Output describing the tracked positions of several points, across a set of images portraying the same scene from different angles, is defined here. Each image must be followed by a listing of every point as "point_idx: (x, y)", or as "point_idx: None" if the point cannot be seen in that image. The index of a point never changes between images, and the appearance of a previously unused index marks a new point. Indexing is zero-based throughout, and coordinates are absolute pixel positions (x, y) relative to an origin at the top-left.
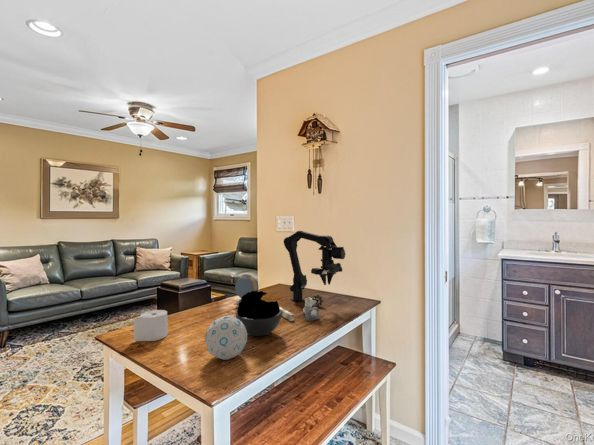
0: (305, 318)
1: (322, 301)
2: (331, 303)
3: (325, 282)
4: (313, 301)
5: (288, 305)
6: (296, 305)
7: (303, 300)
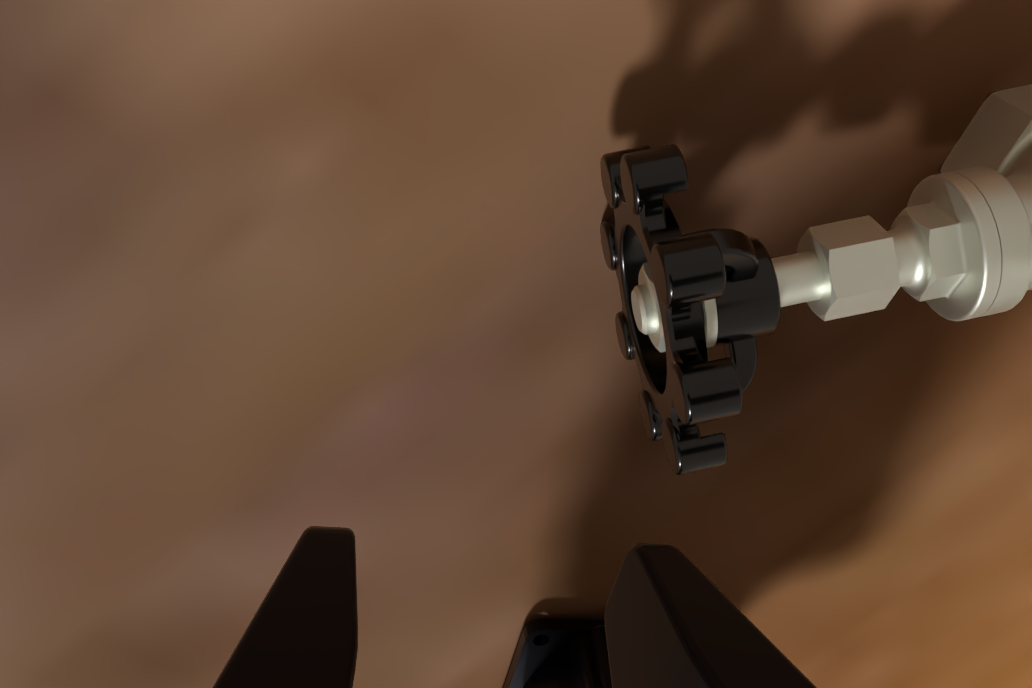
0: None
1: (670, 151)
2: (173, 160)
3: (759, 670)
4: (997, 222)
5: (934, 566)
6: (860, 503)
7: (556, 623)
